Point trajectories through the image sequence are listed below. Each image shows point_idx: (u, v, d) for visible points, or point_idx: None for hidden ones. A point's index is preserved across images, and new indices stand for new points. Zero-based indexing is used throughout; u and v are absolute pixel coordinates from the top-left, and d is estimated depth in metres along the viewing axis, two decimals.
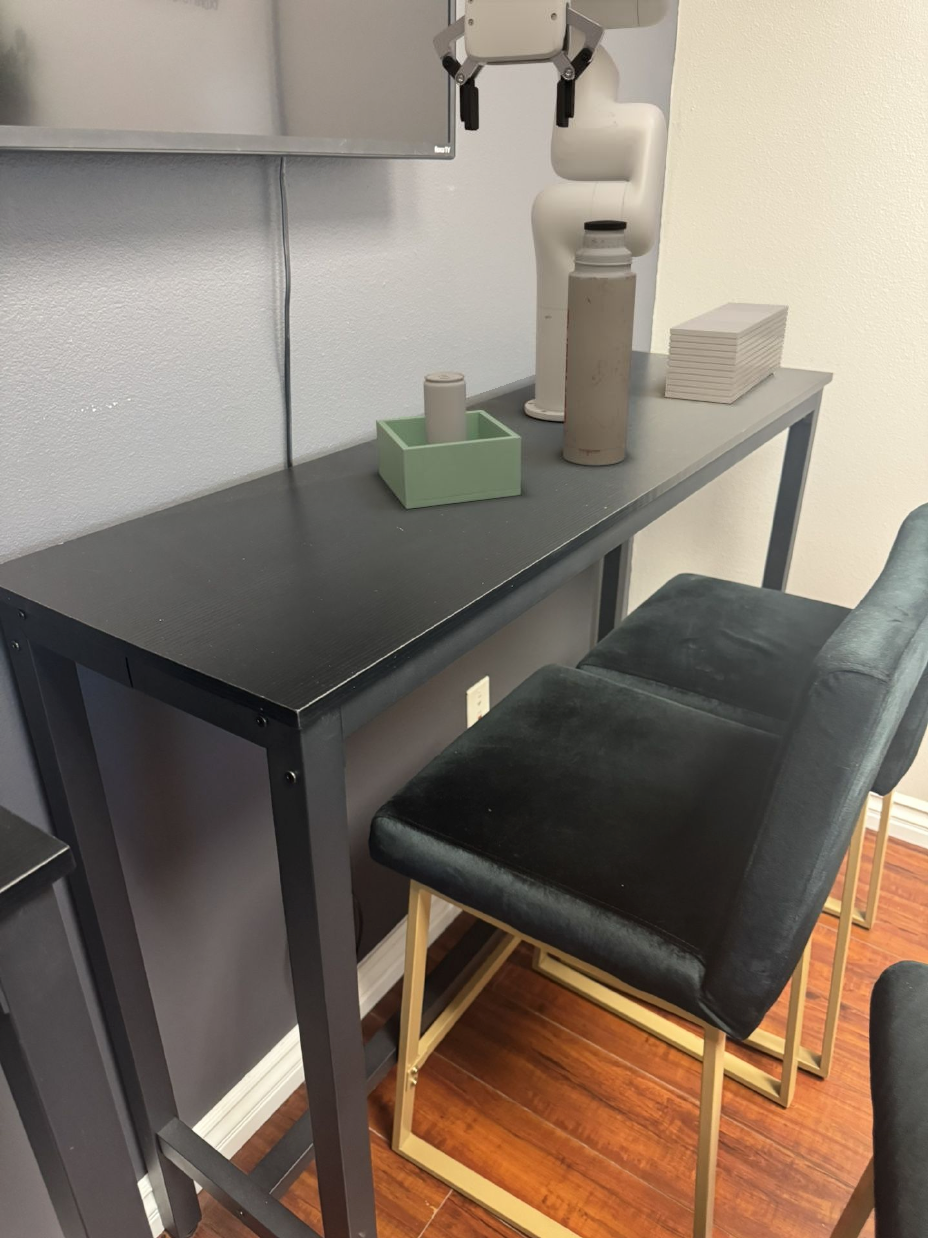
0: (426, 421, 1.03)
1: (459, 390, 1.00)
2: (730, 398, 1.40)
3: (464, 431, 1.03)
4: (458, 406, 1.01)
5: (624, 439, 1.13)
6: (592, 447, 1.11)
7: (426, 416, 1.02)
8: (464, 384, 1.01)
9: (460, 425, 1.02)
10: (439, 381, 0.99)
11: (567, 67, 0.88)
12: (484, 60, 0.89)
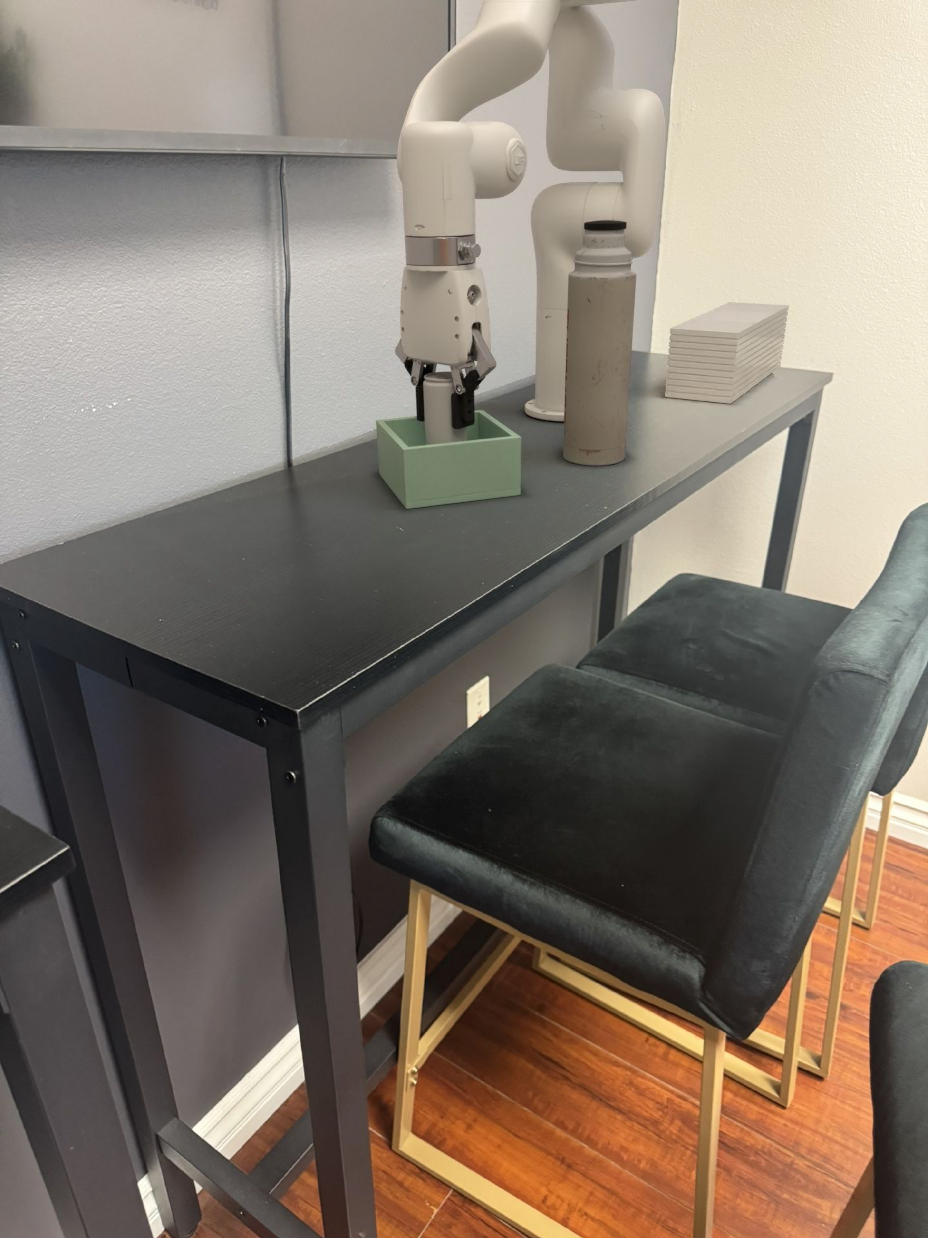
0: (426, 421, 1.03)
1: None
2: (730, 398, 1.40)
3: (464, 431, 1.03)
4: None
5: (624, 439, 1.13)
6: (592, 447, 1.11)
7: (426, 416, 1.02)
8: None
9: None
10: (439, 381, 0.99)
11: (458, 384, 0.99)
12: (414, 359, 1.01)
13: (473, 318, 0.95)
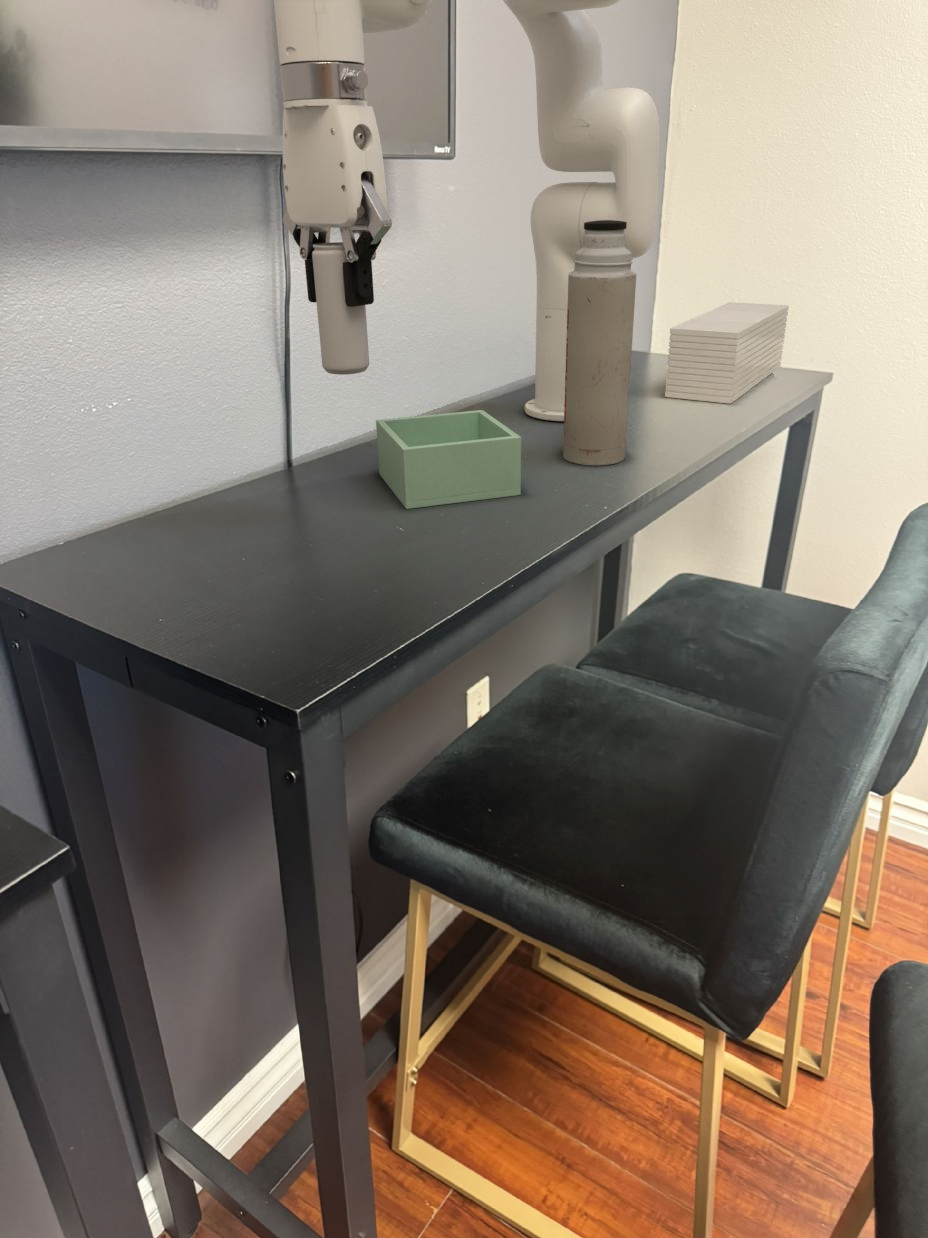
0: (317, 299, 0.88)
1: None
2: (730, 398, 1.40)
3: (362, 312, 0.88)
4: None
5: (624, 439, 1.13)
6: (592, 447, 1.11)
7: (316, 293, 0.87)
8: None
9: None
10: (328, 247, 0.85)
11: (349, 250, 0.84)
12: (301, 225, 0.86)
13: (362, 165, 0.80)
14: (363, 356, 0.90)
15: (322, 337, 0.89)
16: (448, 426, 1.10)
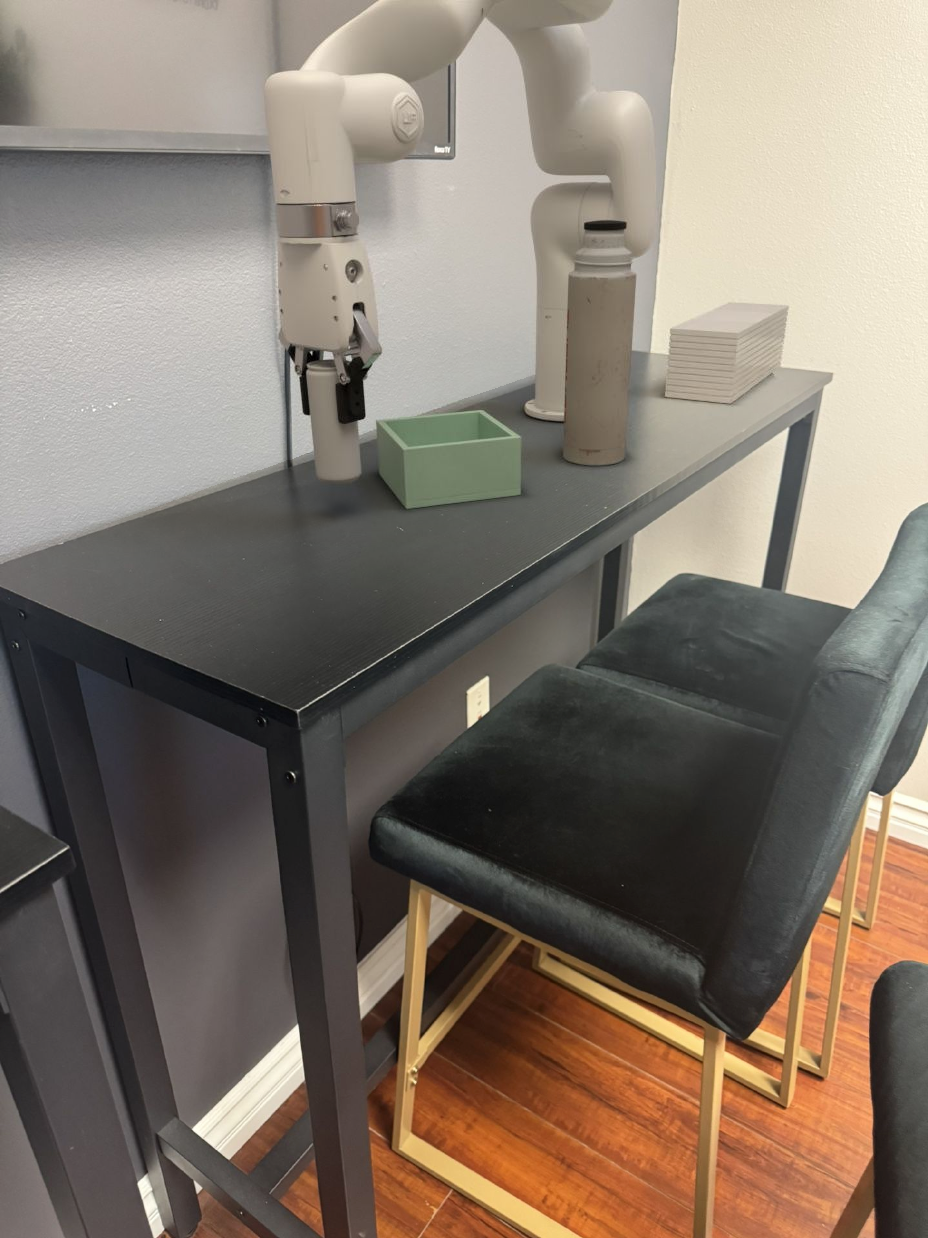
0: (311, 415, 0.91)
1: None
2: (730, 398, 1.40)
3: (354, 426, 0.92)
4: None
5: (624, 439, 1.13)
6: (592, 447, 1.11)
7: (310, 409, 0.91)
8: None
9: None
10: (321, 369, 0.88)
11: (341, 373, 0.87)
12: (296, 345, 0.90)
13: (354, 298, 0.84)
14: (355, 467, 0.94)
15: (316, 449, 0.93)
16: (448, 426, 1.10)
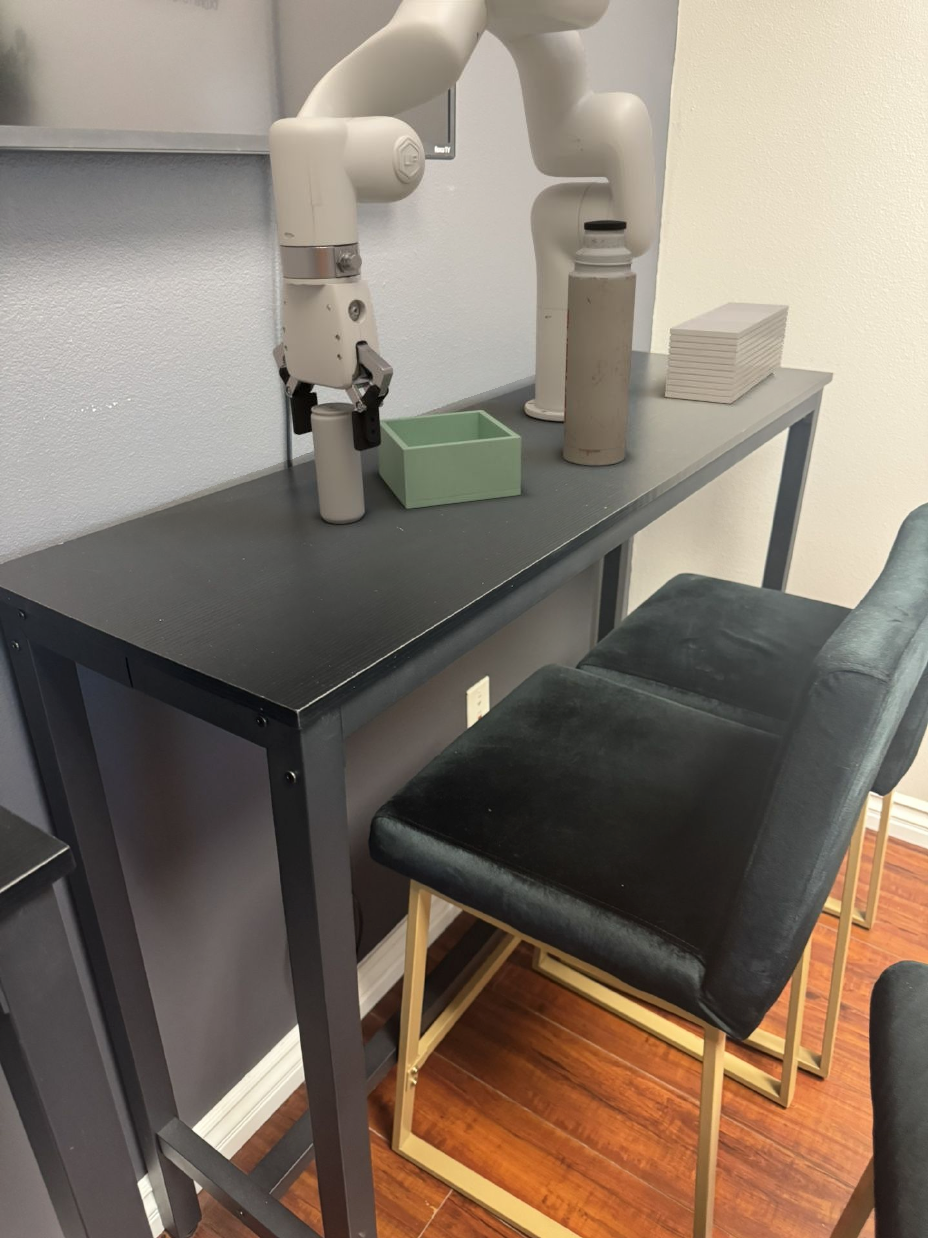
0: (315, 457, 0.93)
1: (349, 424, 0.91)
2: (730, 398, 1.40)
3: (357, 468, 0.94)
4: (348, 441, 0.92)
5: (624, 439, 1.13)
6: (592, 447, 1.11)
7: (315, 452, 0.93)
8: None
9: (352, 461, 0.93)
10: (325, 414, 0.90)
11: (358, 401, 0.87)
12: (300, 381, 0.92)
13: (357, 336, 0.85)
14: (359, 507, 0.96)
15: (320, 490, 0.95)
16: (448, 426, 1.10)
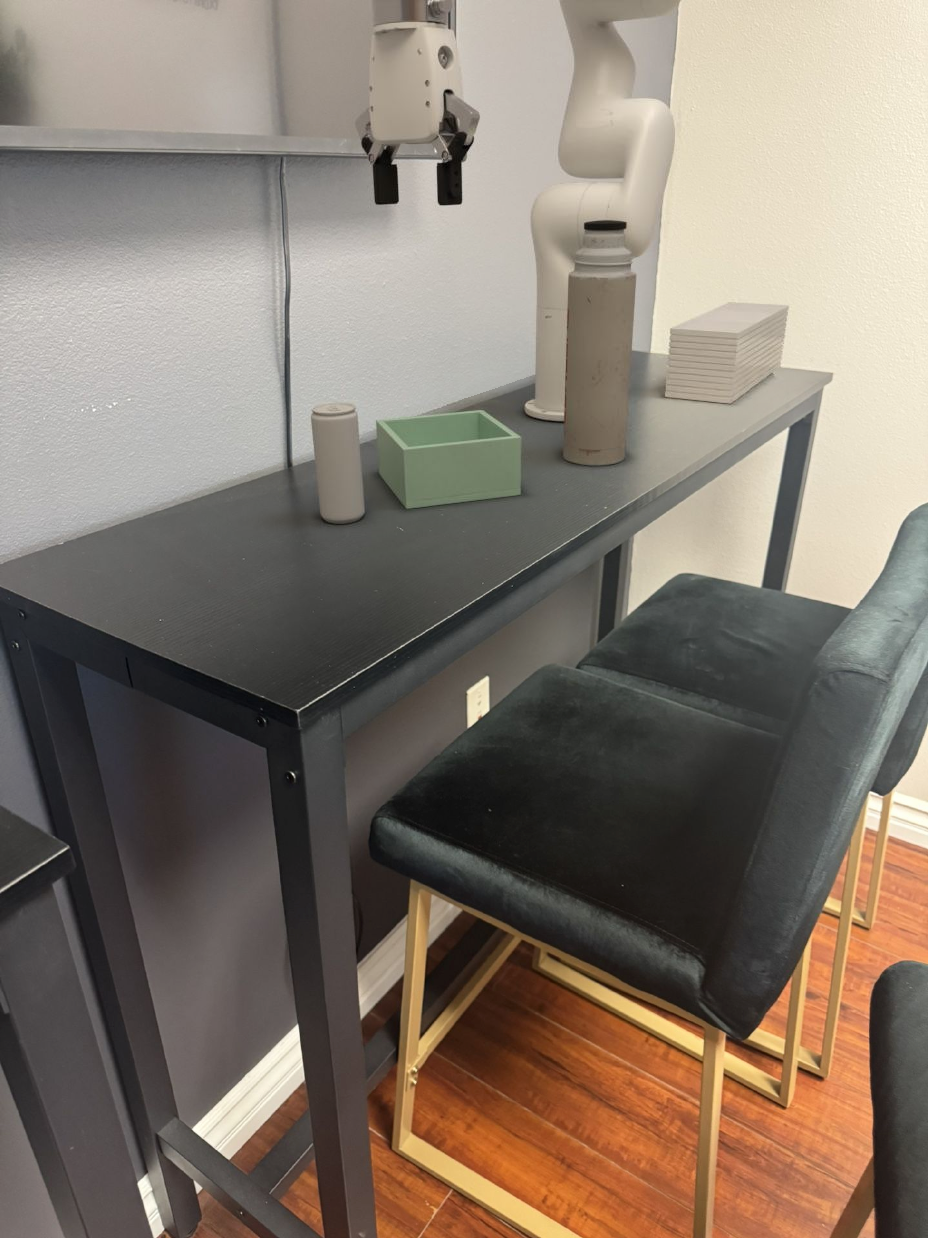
0: (315, 457, 0.93)
1: (349, 424, 0.91)
2: (730, 398, 1.40)
3: (357, 468, 0.94)
4: (348, 441, 0.92)
5: (624, 439, 1.13)
6: (592, 447, 1.11)
7: (315, 452, 0.93)
8: (355, 417, 0.92)
9: (352, 461, 0.93)
10: (325, 414, 0.90)
11: (444, 150, 0.91)
12: (384, 143, 0.95)
13: (445, 84, 0.89)
14: (359, 507, 0.96)
15: (320, 490, 0.95)
16: (448, 426, 1.10)
